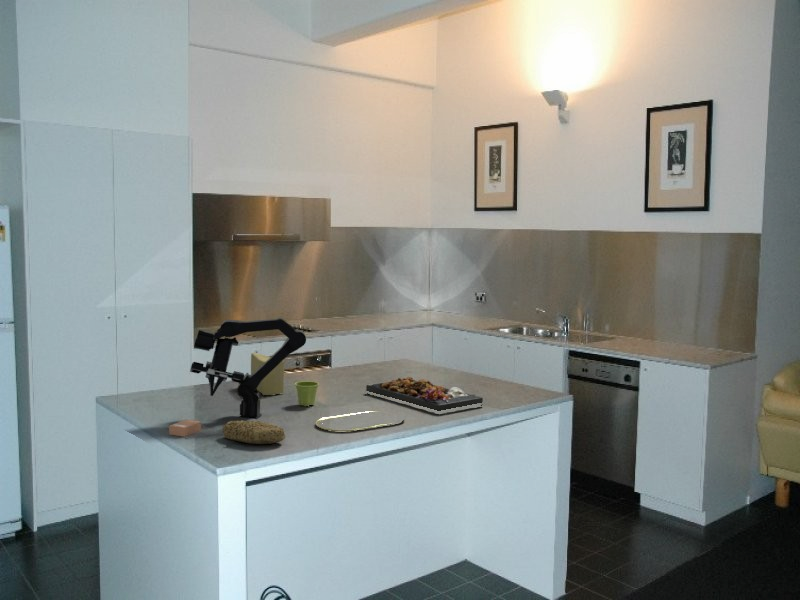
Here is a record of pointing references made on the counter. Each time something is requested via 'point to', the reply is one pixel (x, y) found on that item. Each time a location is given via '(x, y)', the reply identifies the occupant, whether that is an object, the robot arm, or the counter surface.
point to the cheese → (268, 376)
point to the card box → (185, 428)
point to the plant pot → (306, 392)
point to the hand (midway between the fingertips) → (211, 395)
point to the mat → (201, 432)
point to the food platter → (424, 393)
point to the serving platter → (344, 416)
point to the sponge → (253, 432)
